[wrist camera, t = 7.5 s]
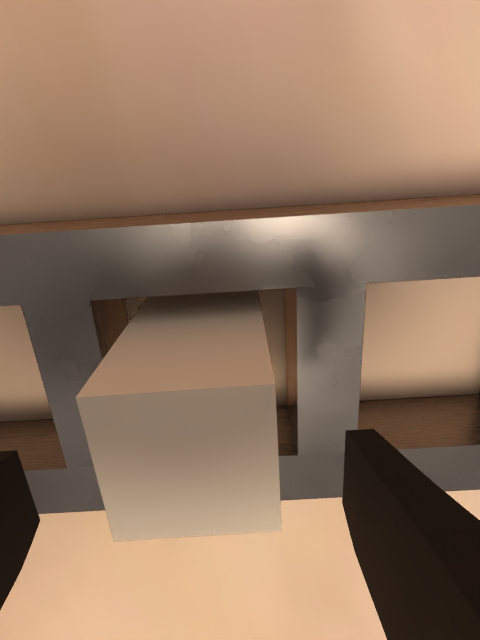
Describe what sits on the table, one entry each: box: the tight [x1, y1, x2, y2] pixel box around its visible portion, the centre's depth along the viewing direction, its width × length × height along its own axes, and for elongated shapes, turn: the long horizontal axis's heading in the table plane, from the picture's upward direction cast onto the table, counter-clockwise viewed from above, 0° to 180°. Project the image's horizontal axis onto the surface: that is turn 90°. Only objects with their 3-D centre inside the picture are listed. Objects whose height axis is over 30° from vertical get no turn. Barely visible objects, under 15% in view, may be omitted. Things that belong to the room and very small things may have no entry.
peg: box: [76, 290, 282, 542], centre depth 12 cm, size 4×4×7 cm
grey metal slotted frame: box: [0, 194, 480, 514], centre depth 13 cm, size 26×10×3 cm, turn 93°
